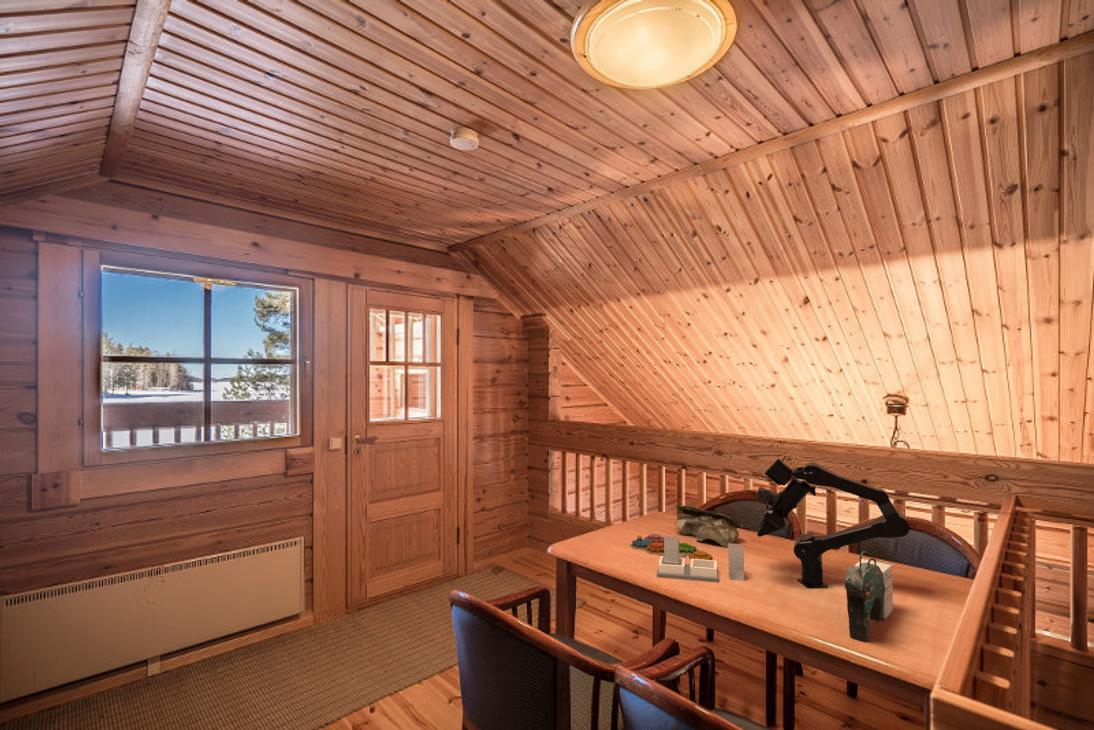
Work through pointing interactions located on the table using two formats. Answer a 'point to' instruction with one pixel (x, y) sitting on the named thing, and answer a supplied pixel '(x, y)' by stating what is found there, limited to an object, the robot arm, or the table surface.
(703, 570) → the double socket tray
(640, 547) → the gear puzzle
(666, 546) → the billet
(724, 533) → the hollow geode rock
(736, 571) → the block
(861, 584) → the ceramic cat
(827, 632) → the table surface
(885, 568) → the supplement box
